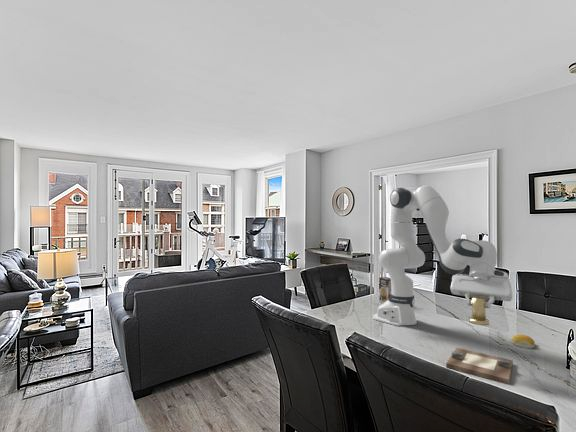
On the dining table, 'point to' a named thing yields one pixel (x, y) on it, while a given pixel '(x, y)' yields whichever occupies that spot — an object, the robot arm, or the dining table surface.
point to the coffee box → (384, 288)
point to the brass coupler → (478, 312)
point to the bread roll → (523, 341)
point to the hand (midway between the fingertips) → (478, 306)
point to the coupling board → (481, 365)
